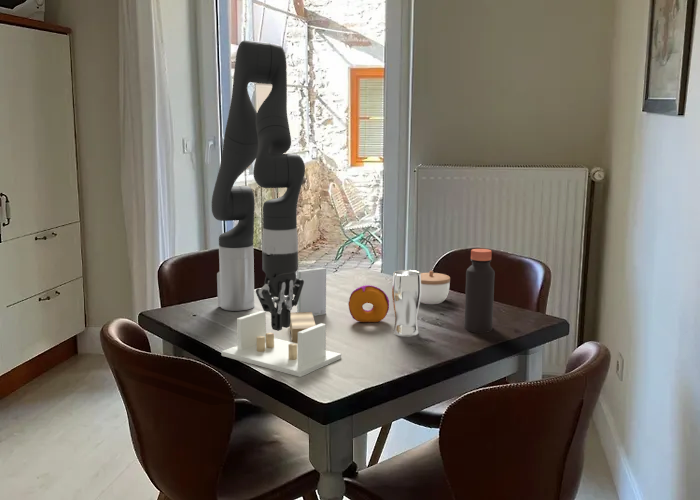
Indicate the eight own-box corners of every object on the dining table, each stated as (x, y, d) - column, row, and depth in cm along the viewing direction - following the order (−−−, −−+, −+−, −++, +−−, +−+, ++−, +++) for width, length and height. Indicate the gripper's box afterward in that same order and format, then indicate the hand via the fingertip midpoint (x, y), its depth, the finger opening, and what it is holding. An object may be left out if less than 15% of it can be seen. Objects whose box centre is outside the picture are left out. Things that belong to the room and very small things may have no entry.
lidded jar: (455, 302, 200) (456, 269, 199) (439, 310, 191) (440, 276, 190) (421, 296, 206) (422, 265, 204) (404, 304, 197) (405, 271, 195)
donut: (360, 317, 184) (360, 279, 182) (392, 322, 180) (392, 284, 178) (345, 324, 177) (345, 285, 176) (377, 329, 173) (378, 290, 171)
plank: (289, 328, 175) (289, 312, 174) (311, 327, 176) (311, 311, 175) (292, 345, 161) (292, 328, 161) (316, 344, 162) (316, 328, 161)
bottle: (474, 324, 178) (478, 246, 174) (497, 330, 173) (501, 250, 170) (458, 329, 173) (461, 250, 170) (481, 335, 169) (485, 254, 165)
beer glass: (400, 339, 165) (402, 277, 163) (386, 331, 172) (387, 271, 169) (425, 335, 169) (427, 274, 166) (410, 327, 175) (411, 268, 172)
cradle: (221, 355, 153) (220, 320, 151) (264, 339, 164) (264, 306, 163) (300, 376, 141) (300, 338, 139) (341, 358, 152) (341, 322, 150)
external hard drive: (326, 314, 187) (326, 268, 184) (299, 318, 182) (299, 271, 180) (323, 312, 188) (323, 267, 186) (296, 317, 183) (296, 270, 181)
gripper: (287, 242, 156) (288, 318, 159) (244, 252, 145) (245, 333, 148) (314, 246, 152) (314, 324, 155) (271, 256, 140) (273, 339, 144)
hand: (280, 328), depth 151 cm, fingers closed
